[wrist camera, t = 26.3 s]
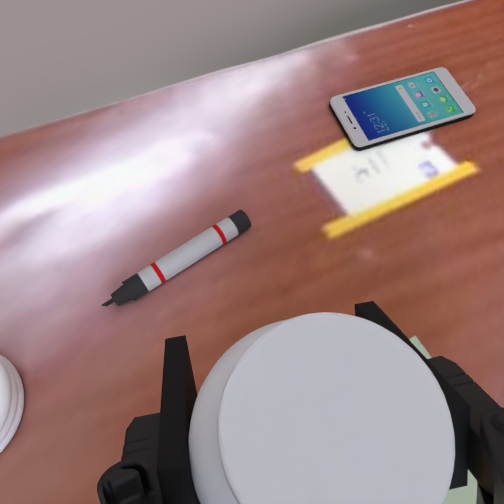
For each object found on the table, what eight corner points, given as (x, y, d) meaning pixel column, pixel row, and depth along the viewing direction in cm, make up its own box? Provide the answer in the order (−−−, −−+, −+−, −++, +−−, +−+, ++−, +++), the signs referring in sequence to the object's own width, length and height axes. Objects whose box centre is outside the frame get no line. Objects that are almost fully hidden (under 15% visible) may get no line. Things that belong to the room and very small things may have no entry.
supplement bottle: (314, 353, 22) (388, 224, 11) (390, 490, 20) (591, 511, 8) (187, 417, 21) (119, 346, 10) (251, 572, 19) (263, 734, 7)
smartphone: (479, 111, 51) (357, 148, 48) (475, 117, 52) (355, 153, 49) (444, 65, 54) (327, 97, 51) (441, 70, 55) (326, 102, 52)
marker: (239, 216, 46) (239, 205, 44) (251, 230, 45) (251, 220, 43) (100, 302, 42) (94, 294, 40) (111, 319, 41) (105, 312, 39)
